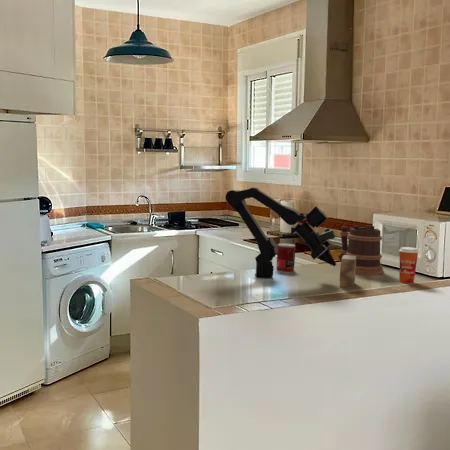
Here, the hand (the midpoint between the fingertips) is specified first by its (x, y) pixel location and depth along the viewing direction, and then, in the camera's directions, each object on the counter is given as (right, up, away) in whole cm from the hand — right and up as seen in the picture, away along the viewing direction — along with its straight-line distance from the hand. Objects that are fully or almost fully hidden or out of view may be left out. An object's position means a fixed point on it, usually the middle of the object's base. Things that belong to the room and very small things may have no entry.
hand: (335, 265), depth 229 cm
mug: (+17, -5, +34) cm, 38 cm away
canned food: (-17, -4, +27) cm, 32 cm away
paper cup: (+31, -8, +11) cm, 34 cm away
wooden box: (+4, -8, -1) cm, 9 cm away
